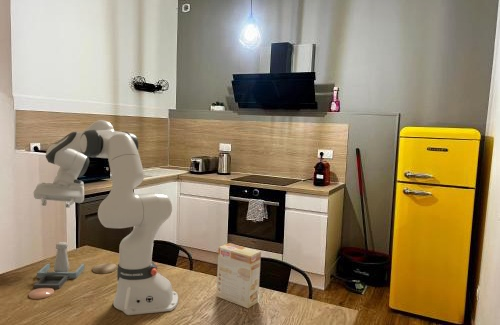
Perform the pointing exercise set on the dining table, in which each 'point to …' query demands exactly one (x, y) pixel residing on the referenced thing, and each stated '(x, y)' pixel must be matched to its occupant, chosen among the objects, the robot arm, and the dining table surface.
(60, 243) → the salt shaker
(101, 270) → the cork trivet
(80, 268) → the cubby bay
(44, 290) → the coaster
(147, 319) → the dining table surface
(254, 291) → the coffeecake box
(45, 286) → the hole frame
